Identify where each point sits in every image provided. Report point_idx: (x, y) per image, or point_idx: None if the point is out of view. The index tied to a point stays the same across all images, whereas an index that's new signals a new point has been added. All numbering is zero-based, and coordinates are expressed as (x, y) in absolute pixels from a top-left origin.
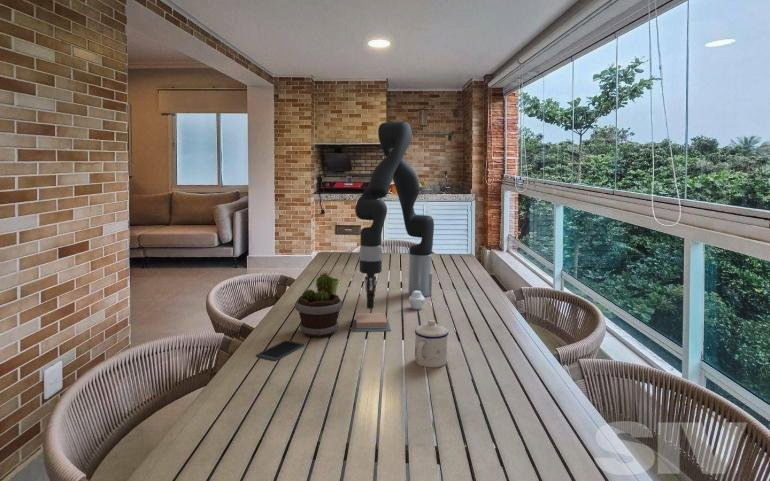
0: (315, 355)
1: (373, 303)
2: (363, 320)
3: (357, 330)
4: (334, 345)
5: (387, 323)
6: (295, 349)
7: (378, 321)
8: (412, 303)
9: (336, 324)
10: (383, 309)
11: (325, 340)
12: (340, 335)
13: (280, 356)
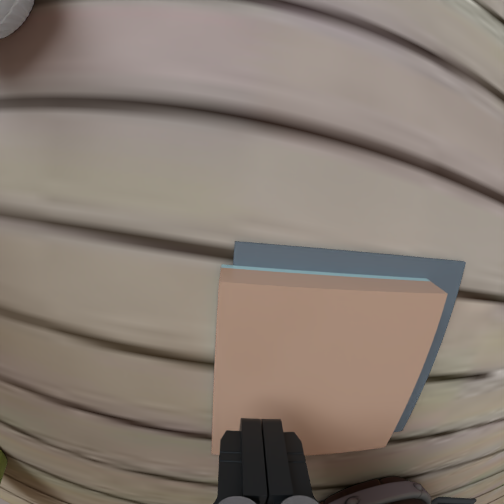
0: (499, 459)
1: (284, 449)
2: (366, 424)
3: (403, 418)
4: (478, 447)
5: (344, 261)
6: (454, 499)
7: (417, 348)
8: (4, 20)
9: (408, 496)
10: (3, 235)
11: (433, 476)
12: (416, 456)
13: (469, 502)
